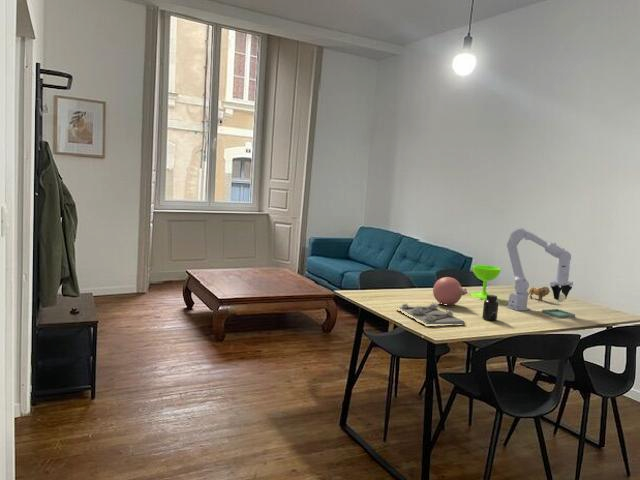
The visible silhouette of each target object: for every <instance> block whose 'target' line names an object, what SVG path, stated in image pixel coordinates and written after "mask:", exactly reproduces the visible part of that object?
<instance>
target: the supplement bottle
mask: <svg viewBox="0 0 640 480" xmlns="http://www.w3.org/2000/svg"><path fill="white" fill-rule="evenodd" d="M497 298H498V295H494V294H491V295H487V298H486V299H487V300H483V307H482V308H483V309H482V319H483V318H484V319H483V320H485V319H486V320H485V321H488V320H490V321H489V322H495V321H497V319H498V313H499V312H498V311H499V301H497V300H498V299H497Z"/></svg>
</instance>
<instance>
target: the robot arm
mask: <svg viewBox="0 0 640 480" xmlns="http://www.w3.org/2000/svg"><path fill="white" fill-rule="evenodd" d="M509 235H510V236H509V239H508V241H507V242H506V248H507V251H508V256H509V260H510V264H511V267H512V271H513V275H514V281H515V285H514V290H513V292H511V293H509V296H508V303H507V304H508V305H507V306H506V308H508V309H511V310H514V311H529V310H531V308H528V299H529V295H528V294H529V291H527V290H528V289H529V286H530V285H529V281H528V280H527V278H526V275H525V273H524V270H523V265H522V261H521V258H520V254H519V251H518V245H519V243H520V242H521V241H523V239H524V240H525V241H532V242H533V243H535V244H536V245H538V246H541V247H542V248H543V249H544V252H545V253H547V254H549V255H550V256H553V257H555V258H557V259H558V264H557V269H556V277H555V278H556V279H555V281H550V283H549V284H550V285H549V286H550V288H551V290H552V293H553V299H554V300H555V301H557V300H558V299H559V295H560V292H561V293H563V294H564V295H565V300H567V297H568V294H569V293H570V291H571V290H572V289H573V287H572V286H573V285H574V282H573V281H572V280H571V281H570V280H569V277H570V270H571V260H572V254H571V253H570V251H568V250H566V249H565V247H564V248H562V247H561V246H560V245H557V243H556V242H547V241H546V240H544V239H543V238H541V237H539V236H538V235H537V234H535V233H533V232H531V231H530V230H527V229H525V228H523V227H518V228H515V229H514V230H513V231H512V232H511V233H510V234H509Z"/></svg>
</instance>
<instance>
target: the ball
mask: <svg viewBox="0 0 640 480" xmlns="http://www.w3.org/2000/svg"><path fill="white" fill-rule="evenodd" d="M565 300H566V299H565V295H564V294H563V293H562V291H560V295H559V299H558V300H556V301H557V302H559V303H561V302H565Z"/></svg>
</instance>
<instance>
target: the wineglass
mask: <svg viewBox="0 0 640 480" xmlns="http://www.w3.org/2000/svg"><path fill="white" fill-rule="evenodd" d="M501 269H502V268H501V267H498V266H491V265H487V264H486V265H484V264H474V265H472V272H473V274H474V276H475V277H476V278H477V279H479V280H480V281H483V282H482V290H481V292H472V293H470V294H471V295H472V296H473V297H476V298H480V299H485V300H487V299H486V298H487V295H492V294H491V293H487V282H489V281H493V280H494V279H497V278H498V276H499V275H500V273H501ZM480 299H479V300H480ZM485 300H484V301H485ZM497 300H499V299H498V297H497Z"/></svg>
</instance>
